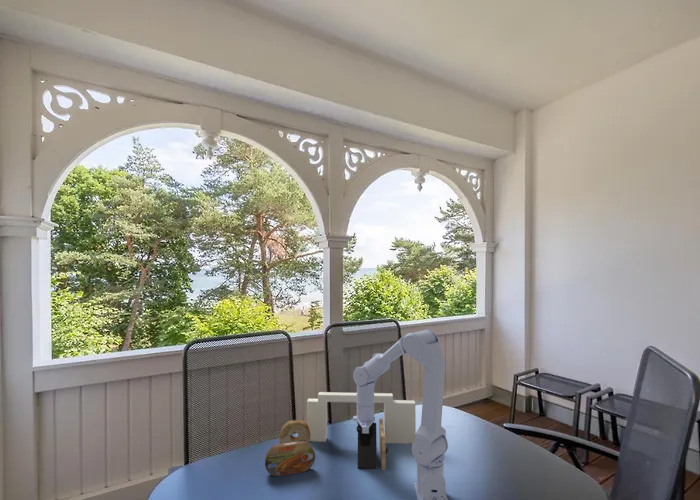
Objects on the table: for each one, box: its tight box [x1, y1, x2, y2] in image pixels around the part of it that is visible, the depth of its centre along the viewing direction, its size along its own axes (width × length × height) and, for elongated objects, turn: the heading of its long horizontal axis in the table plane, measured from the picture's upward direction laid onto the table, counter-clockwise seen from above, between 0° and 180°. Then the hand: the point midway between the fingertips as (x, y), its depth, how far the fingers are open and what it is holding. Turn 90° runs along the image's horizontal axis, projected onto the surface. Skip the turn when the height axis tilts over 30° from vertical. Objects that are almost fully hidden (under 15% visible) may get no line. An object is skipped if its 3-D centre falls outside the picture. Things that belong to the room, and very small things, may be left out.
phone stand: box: [357, 422, 378, 470], centre depth 115 cm, size 9×6×12 cm, turn 177°
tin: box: [264, 441, 316, 477], centre depth 109 cm, size 15×3×8 cm, turn 105°
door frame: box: [306, 391, 417, 445], centre depth 129 cm, size 3×39×16 cm, turn 88°
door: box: [378, 417, 390, 471], centre depth 119 cm, size 19×2×8 cm, turn 178°
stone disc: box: [279, 419, 311, 444], centre depth 122 cm, size 10×4×10 cm, turn 95°
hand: (365, 446), depth 115 cm, fingers open, 3 cm apart
